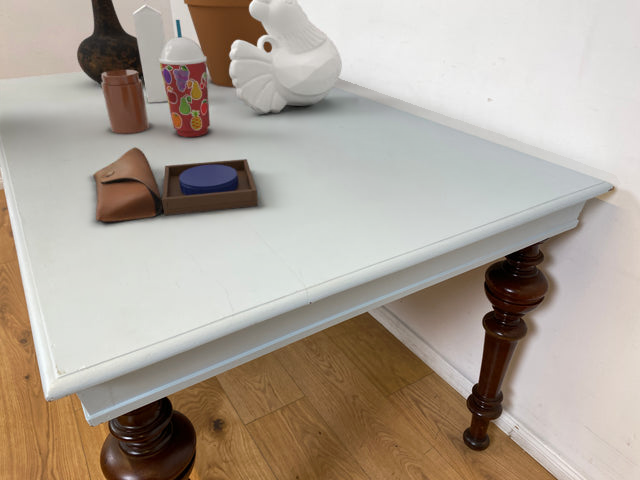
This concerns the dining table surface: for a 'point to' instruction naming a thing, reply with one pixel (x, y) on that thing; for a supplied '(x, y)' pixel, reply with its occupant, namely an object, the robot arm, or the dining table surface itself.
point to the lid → (208, 179)
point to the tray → (183, 203)
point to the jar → (124, 101)
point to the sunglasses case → (127, 189)
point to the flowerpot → (223, 32)
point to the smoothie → (186, 85)
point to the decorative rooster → (284, 60)
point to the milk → (151, 50)
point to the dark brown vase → (108, 45)
